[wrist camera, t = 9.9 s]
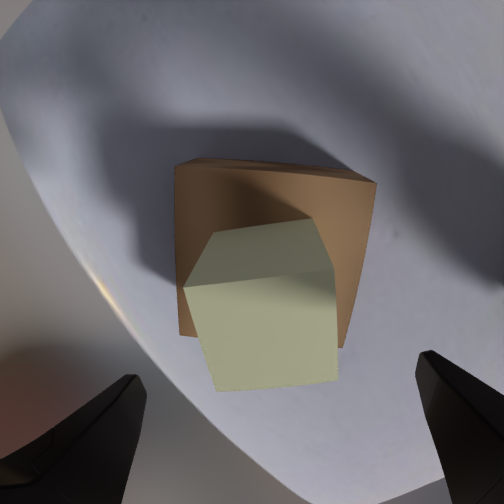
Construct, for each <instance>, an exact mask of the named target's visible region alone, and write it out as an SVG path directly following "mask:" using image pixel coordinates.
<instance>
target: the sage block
mask: <svg viewBox="0 0 504 504" xmlns="http://www.w3.org/2000/svg"><path fill="white" fill-rule="evenodd" d="M183 289H184V292H185V296H186V299H187V303H188V306H189V309H190V313H191V316H192V319H193V322H194V326H195V329H196V332H197V335H198V338H199V341H200V345H201V348H202V351H203V354H204V357H205V360H206V363H207V366H208V369H209V372H210V375H211V377H212V380H213V383H214V386H215V389H216V392H220V391H241V390H256V389H269V388H280V387H290V386H299V385H307V384H315V383H322V382H329V381H336V380H338V335H337V307H336V287H335V271H334V266H333V264H332V262H331V259H330V257H329V255H328V252H327V250H326V248H325V245H324V243H323V241H322V238H321V236H320V234H319V232H318V229H317V227H316V225H315V223H314V220H313V218H310V219H302V220H295V221H288V222H280V223H273V224H266V225H259V226H252V227H245V228H238V229H232V230H225V231H218V232H213V234H212V236H211V238H210V240H209V241H208V243H207V245H206V247H205V249H204V250H203V252H202V254H201V256H200V258H199V259H198V261H197V263H196V265H195V267H194V268H193V270H192V272H191V274H190V276H189V278H188V279H187V281H186V283H185V285H184V287H183Z"/></svg>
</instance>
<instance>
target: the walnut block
mask: <svg viewBox="0 0 504 504" xmlns="http://www.w3.org/2000/svg"><path fill="white" fill-rule="evenodd" d="M376 186H377V183H375V182H374V181H372V180H370V179H368V178H366V177H364V176H362V175H360V174H358V173H356V172H354V171H350V170H343V169H335V168H326V167H318V166H308V165H298V164H288V163H276V162H263V161H249V160H232V159H210V158H196V159H193V160H191V161H188V162H185V163H183V164H180V165H177V166H175V183H174V216H175V261H176V285H177V303H178V319H179V333H180V335H182V336H190V337H198V335H197V332H196V329H195V326H194V322H193V319H192V316H191V313H190V309H189V306H188V303H187V299H186V296H185V292H184V289H183V287H184V285H185V283H186V281H187V279H188V278H189V276H190V274H191V272H192V270H193V268H194V267H195V265H196V263H197V261H198V259H199V258H200V256H201V254H202V252H203V250H204V249H205V247H206V245H207V243H208V241H209V240H210V238H211V236H212V234H213V232H218V231H225V230H232V229H238V228H245V227H252V226H259V225H266V224H273V223H280V222H288V221H295V220H302V219H310V218H313V220H314V223H315V225H316V227H317V229H318V232H319V234H320V236H321V238H322V241H323V243H324V245H325V248H326V250H327V252H328V255H329V257H330V259H331V262H332V264H333V266H334V271H335V287H336V307H337V335H338V348H343V345H344V341H345V338H346V334H347V330H348V326H349V322H350V318H351V315H352V311H353V306H354V302H355V298H356V294H357V289H358V285H359V281H360V276H361V271H362V267H363V262H364V257H365V252H366V247H367V241H368V236H369V230H370V225H371V219H372V213H373V206H374V200H375V193H376Z"/></svg>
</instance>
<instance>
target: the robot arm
mask: <svg viewBox="0 0 504 504" xmlns="http://www.w3.org/2000/svg"><path fill="white" fill-rule="evenodd" d="M415 377H416V381H417V385H418V389H419V393H420V397H421V401H422V405H423V410H424V414H425V417H426V420H427V423H428V426H429V429H430V432H431V435H432V438H433V441H434V444H435V447H436V450H437V453H438V456H439V459H440V462H441V466H442V469H443V472H444V476H445V479H446V482H447V486H448V489H449V493H450V497H451V500H452V504H504V395H503V394H501V393H499V392H498V391H496V390H495V389H493V388H492V387H490V386H488V385H487V384H485V383H484V382H482V381H481V380H479V379H478V378H476V377H474V376H473V375H471V374H470V373H468V372H466V371H465V370H463V369H462V368H460V367H459V366H457V365H455V364H454V363H452V362H451V361H449V360H447V359H446V358H444V357H443V356H441V355H440V354H438V353H436V352H435V351H433V350H428V351H424V352H421V353H420V354H419V358H418V362H417V367H416V371H415ZM146 399H147V393H146V390H145V388H144V386H143V384H142V381H141V379H140V377H139V376H138V375H136V374H126V375H124V376H123V377H121V378H120V379H119V380H117V381H116V382H115V383H113V384H112V385H111V386H109V387H108V388H106V389H105V390H104V391H102V392H101V393H100V394H98V395H97V396H96V397H94V398H93V399H92V400H90V401H89V402H87V403H86V404H85V405H83V406H82V407H80V408H79V409H78V410H76V411H75V412H74V413H72V414H71V415H69V416H68V417H67V418H65V419H64V420H62V421H61V422H60V423H59V424H57V425H56V426H54V428H51V429H50V430H48V431H47V432H46V433H44V434H43V435H41V436H40V437H38V438H37V439H35V440H34V441H32V442H30V443H29V444H27V445H25V446H24V447H22V448H20V449H18V450H16V451H15V452H13V453H11V454H9V455H8V456H6V457H4V458H2V459H0V504H121V503H122V499H123V494H124V491H125V487H126V484H127V480H128V476H129V473H130V469H131V465H132V462H133V458H134V455H135V451H136V448H137V444H138V441H139V437H140V432H141V428H142V422H143V415H144V411H145V405H146Z"/></svg>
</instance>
